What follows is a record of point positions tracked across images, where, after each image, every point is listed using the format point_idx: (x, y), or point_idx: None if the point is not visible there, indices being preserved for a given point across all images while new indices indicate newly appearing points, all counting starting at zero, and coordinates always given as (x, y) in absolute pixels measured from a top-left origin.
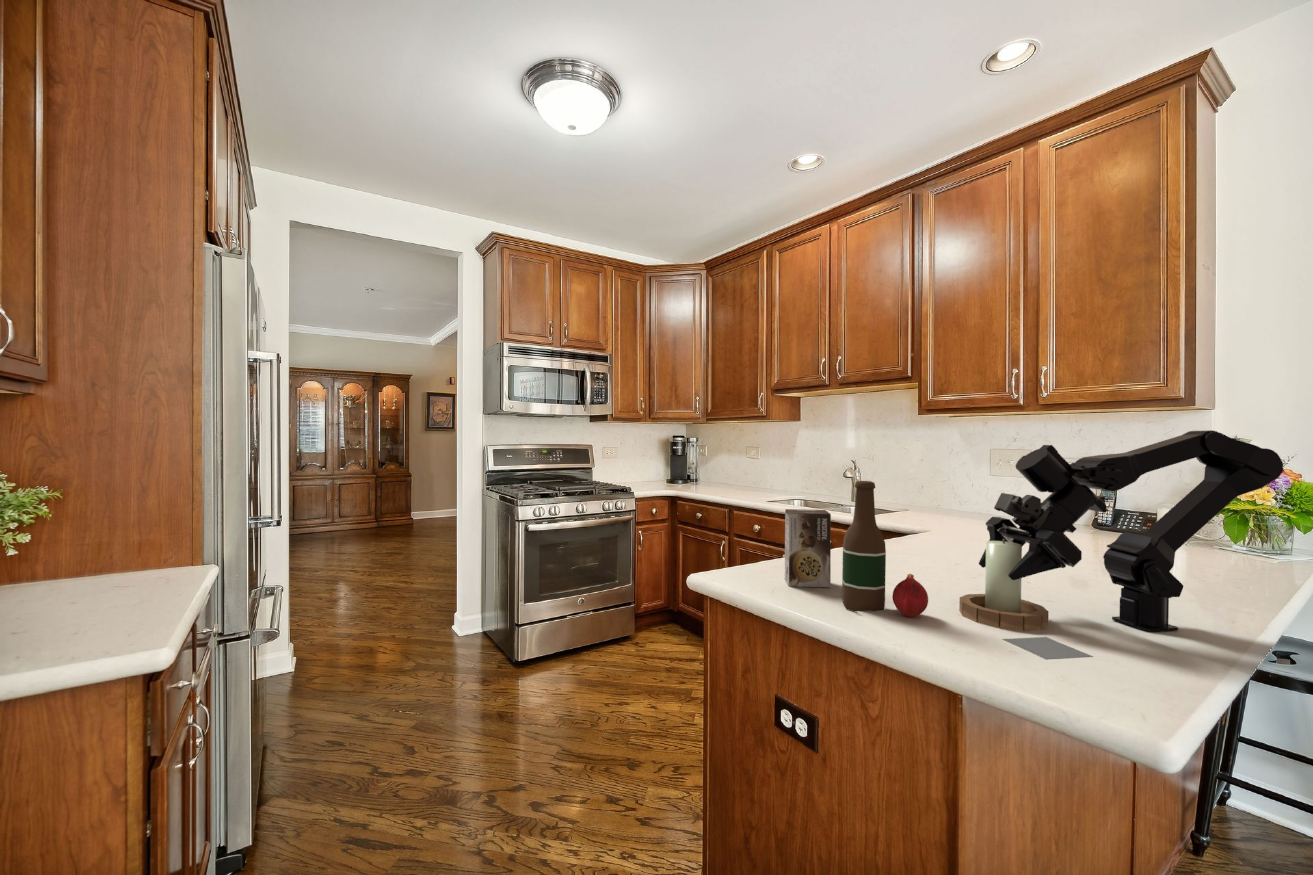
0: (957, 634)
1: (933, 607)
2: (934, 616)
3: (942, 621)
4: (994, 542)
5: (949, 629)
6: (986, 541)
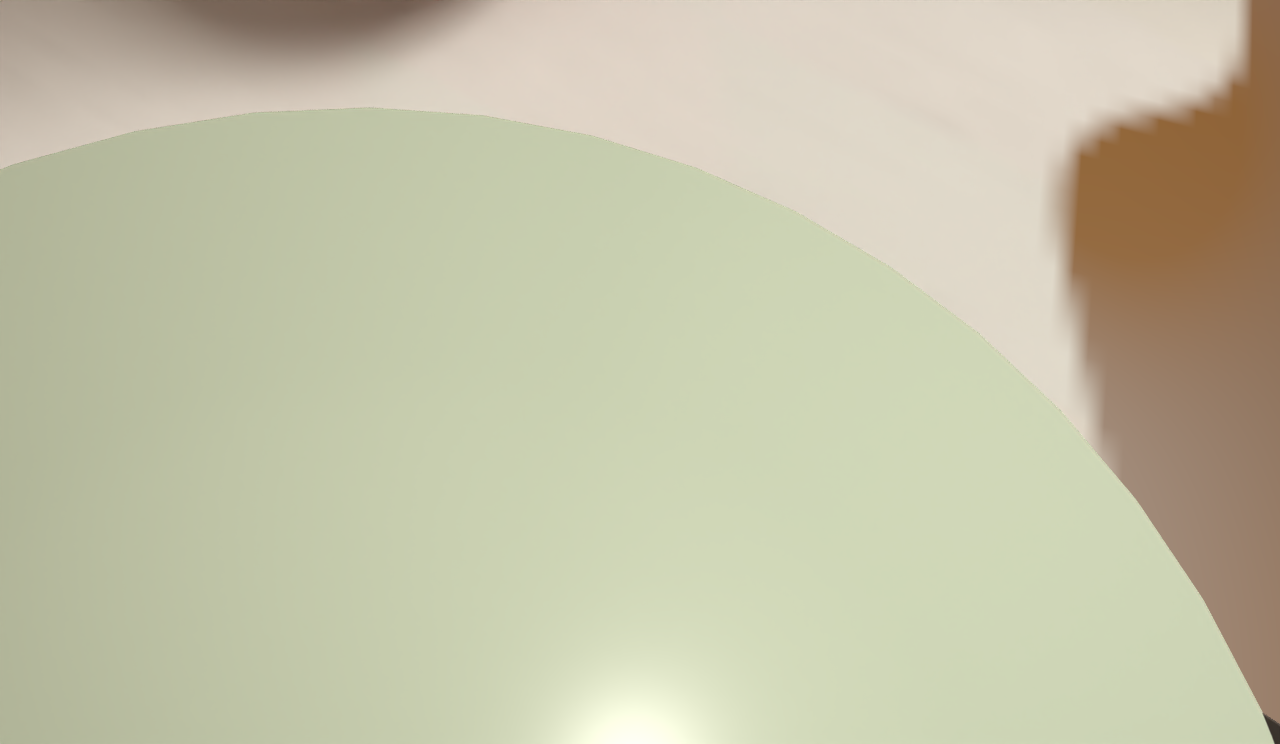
0: (13, 15)
1: (928, 261)
2: (597, 102)
3: (430, 93)
4: (729, 636)
5: (171, 23)
6: (993, 349)
